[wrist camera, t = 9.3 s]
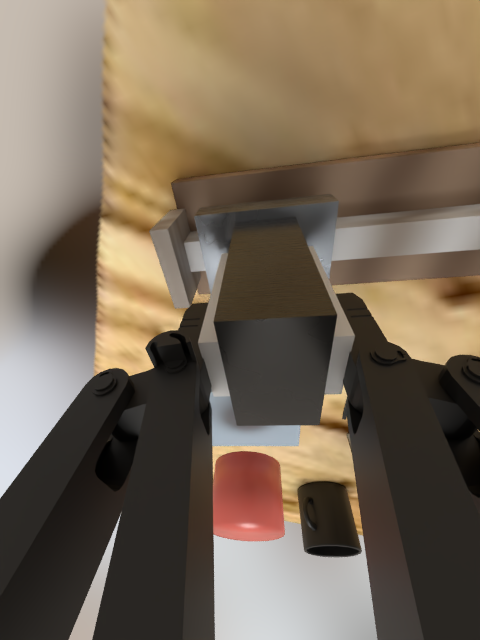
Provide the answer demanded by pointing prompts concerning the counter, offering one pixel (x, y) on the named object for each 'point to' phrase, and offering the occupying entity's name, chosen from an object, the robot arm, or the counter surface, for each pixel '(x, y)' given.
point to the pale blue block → (246, 429)
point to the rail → (348, 215)
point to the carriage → (272, 304)
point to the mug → (327, 520)
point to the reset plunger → (247, 497)
